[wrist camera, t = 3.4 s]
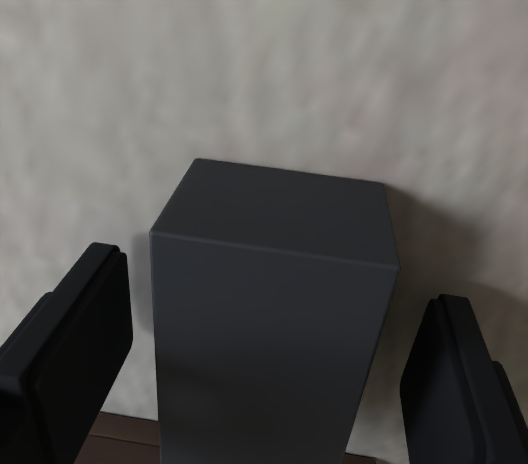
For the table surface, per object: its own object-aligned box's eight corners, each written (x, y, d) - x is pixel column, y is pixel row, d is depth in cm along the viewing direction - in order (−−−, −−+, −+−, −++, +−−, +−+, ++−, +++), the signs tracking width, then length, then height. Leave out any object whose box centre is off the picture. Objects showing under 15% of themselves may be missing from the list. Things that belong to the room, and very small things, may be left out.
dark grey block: (194, 156, 10) (147, 230, 7) (384, 181, 10) (402, 268, 7) (192, 379, 14) (160, 479, 11) (329, 402, 14) (328, 509, 11)
